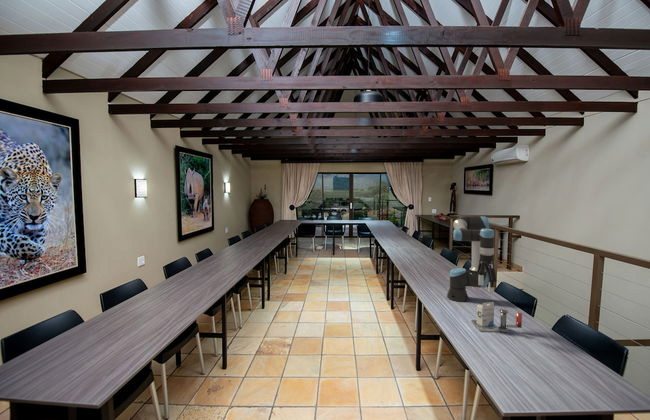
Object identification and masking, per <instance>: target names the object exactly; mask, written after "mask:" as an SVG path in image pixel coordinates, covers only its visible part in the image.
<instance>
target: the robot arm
mask: <svg viewBox="0 0 650 420" xmlns="http://www.w3.org/2000/svg"><path fill="white" fill-rule="evenodd" d="M452 227H453V234H452V235H453V236H452V237H453V240H454V241H458V242H471V267H470V268H469V270H467V269H466V268H463V267H456V268H452V269H451V270H450V271H449V288H448V291H447V293H446V297H447V299H449V300H450V301H453V302H461V303H464V302H467V301H469V294H468V292H467V287H471V288H479V289H480V288H482V289H483V288H484V289H485V288H487V287H488V293H495V283H497V275H496V269H495V264H492V262H494V260H495V259H494V258H495V257H494V254H495V235H496V234H495V230H494V229H493V228H490V224H489V220H488V217H487V216H484V215H483V216H482V215H479V216H477V215H476V216H475V215H470V216H469V215H464V216H463V215H462V216H460V217H457V218H456V219H454V220H453V223H452Z"/></svg>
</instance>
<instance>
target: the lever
mask: <svg viewBox="0 0 650 420" xmlns="http://www.w3.org/2000/svg"><path fill="white" fill-rule="evenodd" d="M515 314H516V315H515V324H506V328H511V329H512V328H513V329H514V328H515V329H517V328H518V329H520V328H523V327H522V325H523V314H522V313H521V312H516V313H515Z"/></svg>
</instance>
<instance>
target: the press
mask: <svg viewBox="0 0 650 420" xmlns="http://www.w3.org/2000/svg"><path fill="white" fill-rule="evenodd" d="M499 312H500V322H499V323H500V325H499V326H497V325H496V324H495V323H494V325H490V326H483V327H482V326H480V325H479V324H477V319H472V320H470V323H471V324H472V325H473V326H474V327H475V329H477V330H478V332H486V333H487V332H488V333H489V332H494V333H496V332H499V333H502V334H508V333H509V329H508V327H507V315H508V313H509V312H508V310H507V309H504V308H503V309H499Z"/></svg>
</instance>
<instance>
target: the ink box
mask: <svg viewBox="0 0 650 420" xmlns="http://www.w3.org/2000/svg"><path fill="white" fill-rule="evenodd" d="M494 305H495V303H494V301H491V302H482V304H477V305H476V320H477V324H479V325H480V326H482V327H483V326H490V325H494V324H495V323H494V320H495V319H494V317H495V306H494Z"/></svg>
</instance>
